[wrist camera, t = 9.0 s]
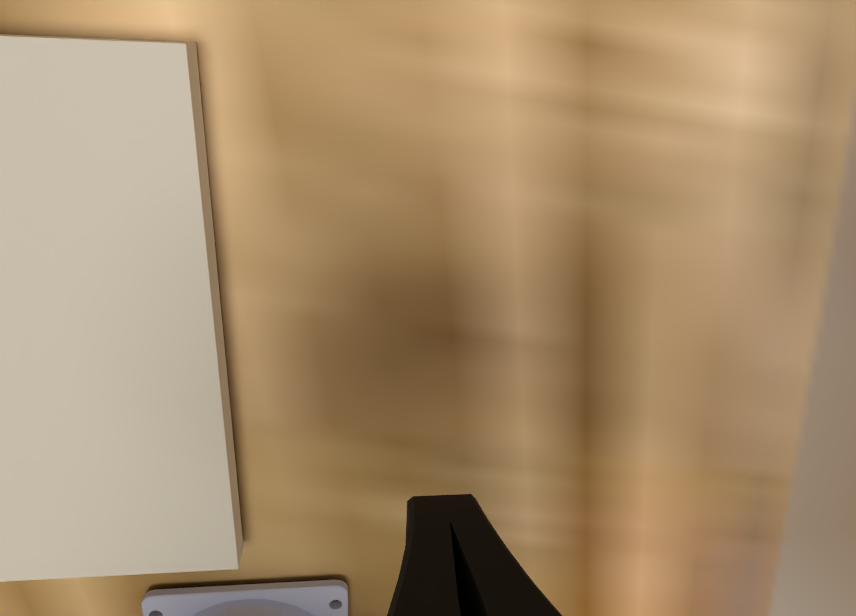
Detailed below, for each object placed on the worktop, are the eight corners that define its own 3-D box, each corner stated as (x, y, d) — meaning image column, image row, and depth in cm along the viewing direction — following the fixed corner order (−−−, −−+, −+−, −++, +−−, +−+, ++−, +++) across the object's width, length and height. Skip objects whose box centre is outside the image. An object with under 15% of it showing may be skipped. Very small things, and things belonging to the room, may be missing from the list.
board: (243, 545, 25) (238, 569, 24) (-125, 563, 23) (-149, 589, 22) (195, 42, 18) (185, 43, 17) (-342, 19, 16) (-392, 19, 15)
